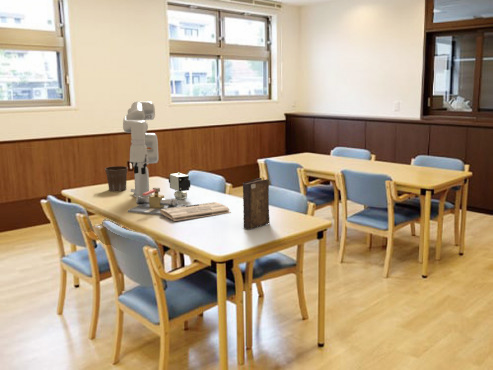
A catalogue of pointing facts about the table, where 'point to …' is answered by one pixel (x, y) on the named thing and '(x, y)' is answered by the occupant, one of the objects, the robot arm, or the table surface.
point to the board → (150, 209)
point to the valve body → (156, 201)
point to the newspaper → (195, 211)
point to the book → (256, 203)
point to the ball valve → (179, 184)
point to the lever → (152, 191)
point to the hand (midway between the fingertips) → (139, 173)
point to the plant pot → (116, 177)
